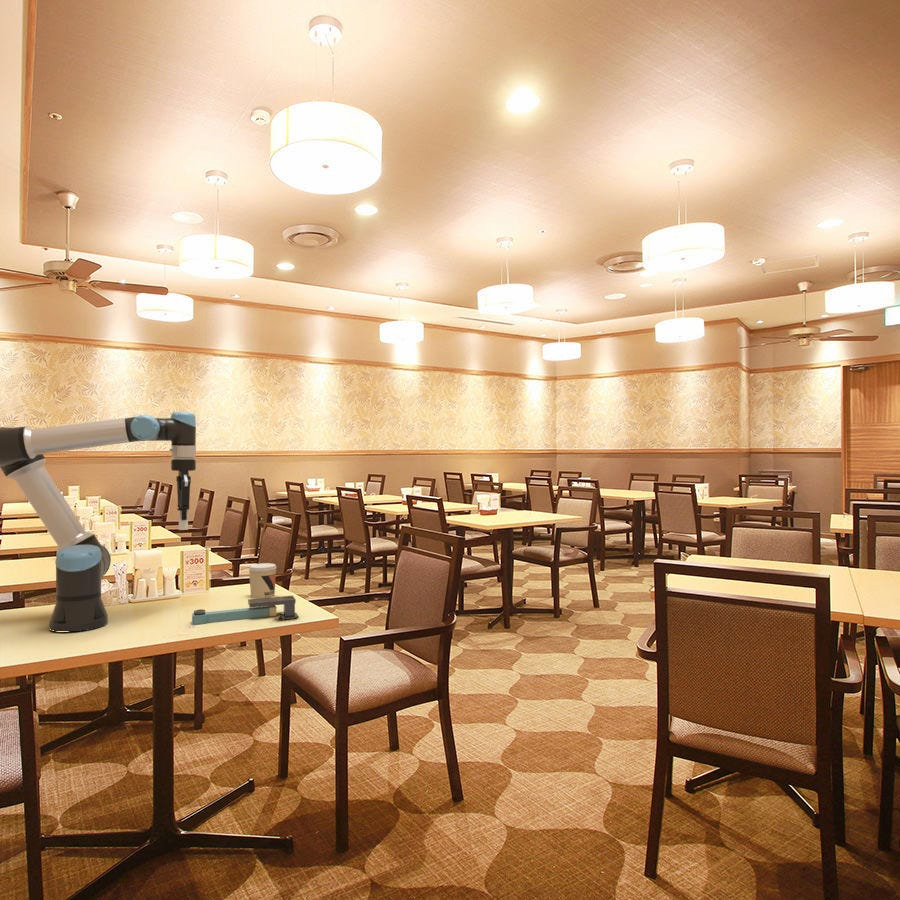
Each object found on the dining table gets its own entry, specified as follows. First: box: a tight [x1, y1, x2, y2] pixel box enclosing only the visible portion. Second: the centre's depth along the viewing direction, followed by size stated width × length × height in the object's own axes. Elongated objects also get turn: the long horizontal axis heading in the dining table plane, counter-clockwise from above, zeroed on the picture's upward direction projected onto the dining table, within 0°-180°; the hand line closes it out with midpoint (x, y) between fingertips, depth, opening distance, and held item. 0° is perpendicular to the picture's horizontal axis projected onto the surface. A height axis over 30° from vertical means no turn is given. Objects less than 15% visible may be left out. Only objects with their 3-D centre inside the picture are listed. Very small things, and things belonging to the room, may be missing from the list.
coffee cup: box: [248, 562, 278, 599], centre depth 225 cm, size 9×9×12 cm
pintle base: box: [193, 608, 206, 615], centre depth 190 cm, size 10×10×5 cm
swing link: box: [191, 605, 278, 626], centre depth 194 cm, size 24×4×3 cm, turn 114°
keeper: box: [247, 595, 300, 621], centre depth 198 cm, size 14×6×6 cm, turn 113°
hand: (183, 529), depth 213 cm, fingers closed
